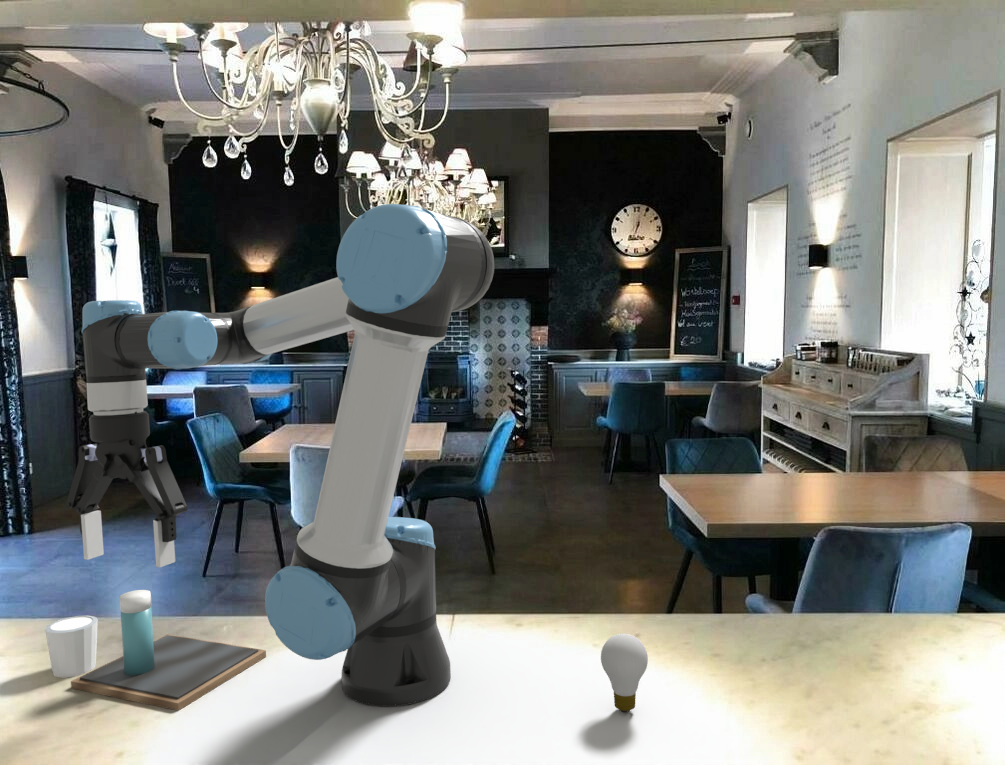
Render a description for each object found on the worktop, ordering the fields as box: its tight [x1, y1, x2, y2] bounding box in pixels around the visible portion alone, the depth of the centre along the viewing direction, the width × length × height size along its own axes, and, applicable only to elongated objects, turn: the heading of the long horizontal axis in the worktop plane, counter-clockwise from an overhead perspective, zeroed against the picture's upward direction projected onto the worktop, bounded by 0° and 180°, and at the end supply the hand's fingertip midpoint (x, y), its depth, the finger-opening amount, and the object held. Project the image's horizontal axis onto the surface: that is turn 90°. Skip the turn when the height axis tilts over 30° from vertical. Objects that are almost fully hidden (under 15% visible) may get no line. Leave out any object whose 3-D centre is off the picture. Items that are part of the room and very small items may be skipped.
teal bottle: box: [119, 589, 155, 675], centre depth 111 cm, size 4×4×11 cm
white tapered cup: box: [44, 615, 98, 678], centre depth 115 cm, size 7×7×7 cm
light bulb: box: [600, 632, 649, 714], centre depth 98 cm, size 6×6×10 cm
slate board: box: [70, 634, 267, 711], centre depth 113 cm, size 20×18×1 cm
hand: (129, 560), depth 110 cm, fingers open, 13 cm apart
